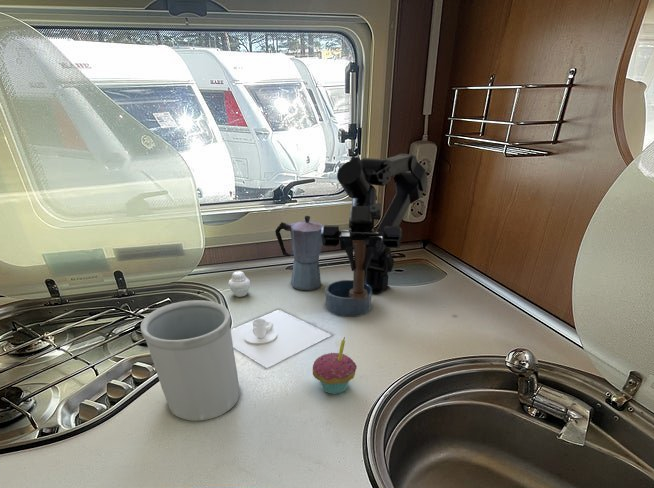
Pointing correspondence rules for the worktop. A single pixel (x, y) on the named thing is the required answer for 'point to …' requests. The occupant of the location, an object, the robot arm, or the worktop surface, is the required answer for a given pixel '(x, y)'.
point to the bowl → (346, 299)
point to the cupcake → (334, 370)
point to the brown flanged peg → (359, 272)
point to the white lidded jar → (239, 284)
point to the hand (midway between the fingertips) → (358, 270)
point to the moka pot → (304, 252)
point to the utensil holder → (193, 357)
